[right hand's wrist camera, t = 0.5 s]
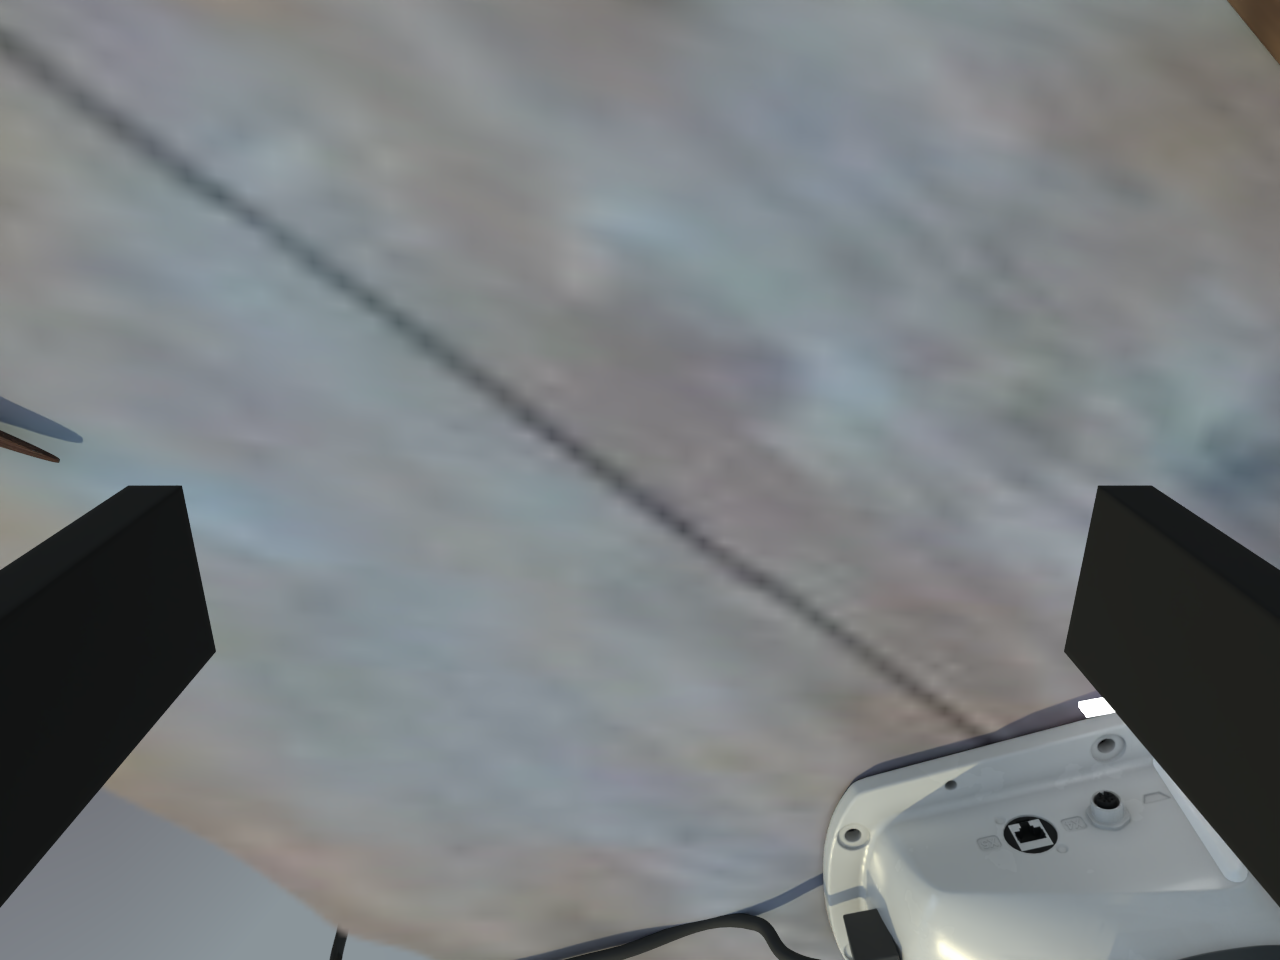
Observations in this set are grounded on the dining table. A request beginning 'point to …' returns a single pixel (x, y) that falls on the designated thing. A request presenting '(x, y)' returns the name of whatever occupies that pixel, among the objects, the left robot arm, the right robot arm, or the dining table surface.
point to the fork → (24, 447)
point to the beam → (1262, 21)
